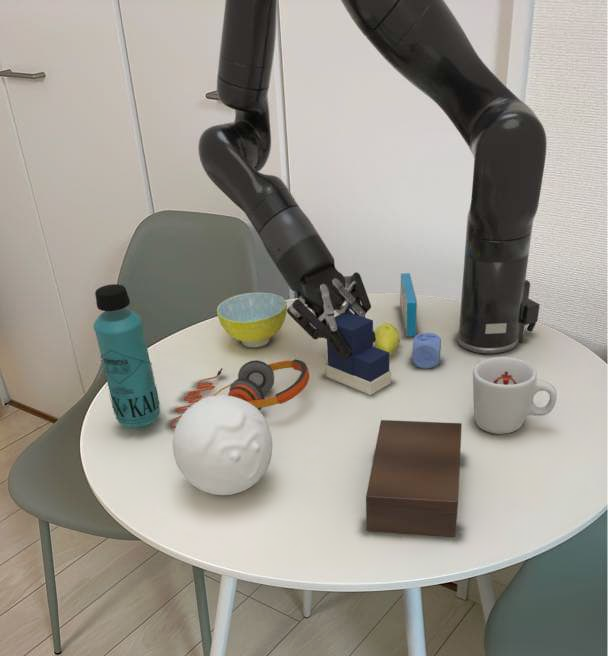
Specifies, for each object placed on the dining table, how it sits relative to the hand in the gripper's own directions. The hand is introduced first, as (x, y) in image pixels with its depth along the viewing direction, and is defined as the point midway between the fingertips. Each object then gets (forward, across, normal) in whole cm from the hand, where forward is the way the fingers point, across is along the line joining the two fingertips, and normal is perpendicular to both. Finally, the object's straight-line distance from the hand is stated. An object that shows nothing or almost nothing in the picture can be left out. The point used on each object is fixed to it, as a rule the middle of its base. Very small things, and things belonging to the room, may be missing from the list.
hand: (359, 349), depth 110 cm
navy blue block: (+3, 0, +4) cm, 5 cm away
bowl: (-12, -1, +20) cm, 23 cm away
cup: (+21, +3, -13) cm, 25 cm away
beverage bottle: (-7, -29, +15) cm, 33 cm away
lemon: (+1, +10, +6) cm, 12 cm away
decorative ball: (+7, -30, 0) cm, 31 cm away
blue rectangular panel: (-2, +20, +9) cm, 22 cm away
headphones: (-2, -16, +10) cm, 19 cm away
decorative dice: (+7, +11, +1) cm, 13 cm away
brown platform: (+20, -16, -13) cm, 29 cm away
